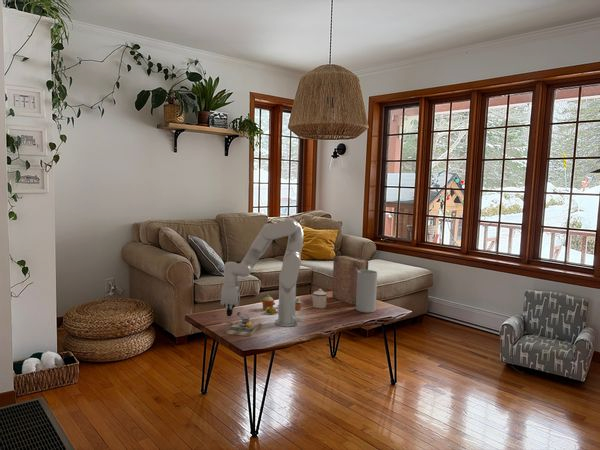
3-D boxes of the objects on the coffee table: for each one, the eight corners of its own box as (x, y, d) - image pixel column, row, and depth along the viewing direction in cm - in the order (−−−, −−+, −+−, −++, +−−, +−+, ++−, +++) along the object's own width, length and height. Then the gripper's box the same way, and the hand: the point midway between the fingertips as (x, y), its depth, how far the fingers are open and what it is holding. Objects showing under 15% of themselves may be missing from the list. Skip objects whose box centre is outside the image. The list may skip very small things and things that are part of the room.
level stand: (261, 325, 257) (261, 322, 257) (250, 336, 240) (250, 332, 240) (237, 323, 260) (237, 320, 260) (225, 333, 243) (225, 329, 243)
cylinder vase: (366, 314, 287) (368, 274, 285) (351, 309, 296) (353, 271, 294) (379, 310, 295) (381, 272, 293) (364, 306, 305) (366, 269, 302)
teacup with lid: (329, 306, 301) (329, 289, 300) (320, 309, 294) (321, 291, 293) (314, 303, 309) (315, 286, 308) (306, 305, 302) (306, 288, 301)
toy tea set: (267, 316, 277) (267, 300, 277) (256, 309, 291) (257, 294, 290) (305, 311, 290) (305, 296, 289) (293, 305, 304) (293, 290, 303)
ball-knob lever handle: (255, 329, 245) (255, 321, 245) (244, 330, 243) (244, 322, 242) (243, 316, 266) (243, 309, 266) (233, 317, 264) (233, 310, 264)
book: (366, 304, 310) (368, 260, 307) (356, 306, 304) (358, 261, 301) (342, 296, 330) (343, 254, 327) (332, 297, 325) (333, 255, 322)
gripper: (245, 283, 262) (244, 315, 264) (220, 281, 266) (219, 312, 267) (240, 286, 255) (239, 319, 257) (215, 284, 258) (214, 316, 260)
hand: (229, 315), depth 262 cm, fingers closed
